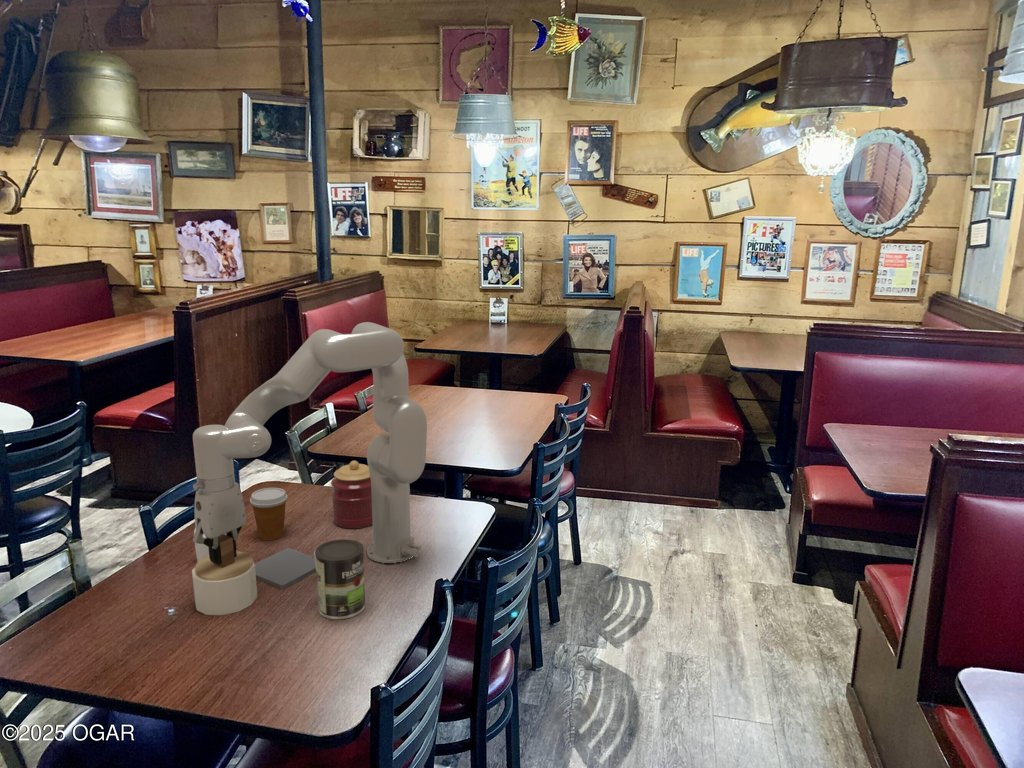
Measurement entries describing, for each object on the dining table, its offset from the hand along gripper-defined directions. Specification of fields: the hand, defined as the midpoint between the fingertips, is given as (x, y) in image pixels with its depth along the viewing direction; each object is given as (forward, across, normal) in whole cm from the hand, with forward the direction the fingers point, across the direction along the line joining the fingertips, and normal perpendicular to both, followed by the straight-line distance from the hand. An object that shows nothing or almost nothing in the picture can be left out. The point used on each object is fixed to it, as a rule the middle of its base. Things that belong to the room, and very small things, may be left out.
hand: (223, 558), depth 164 cm
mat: (+10, +17, 0) cm, 20 cm away
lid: (+2, 0, 0) cm, 2 cm away
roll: (+10, +10, +20) cm, 25 cm away
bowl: (+10, 0, 0) cm, 10 cm away
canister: (+11, +48, +6) cm, 49 cm away
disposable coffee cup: (+11, +28, +18) cm, 35 cm away
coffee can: (+11, +12, -24) cm, 29 cm away
